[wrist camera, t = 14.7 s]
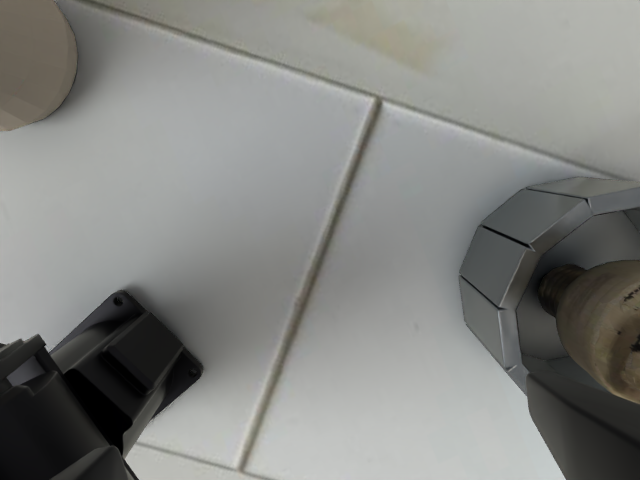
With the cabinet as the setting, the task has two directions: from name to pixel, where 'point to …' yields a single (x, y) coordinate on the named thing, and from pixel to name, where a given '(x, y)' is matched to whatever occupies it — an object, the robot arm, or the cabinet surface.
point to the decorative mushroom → (34, 61)
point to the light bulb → (599, 321)
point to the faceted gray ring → (530, 263)
